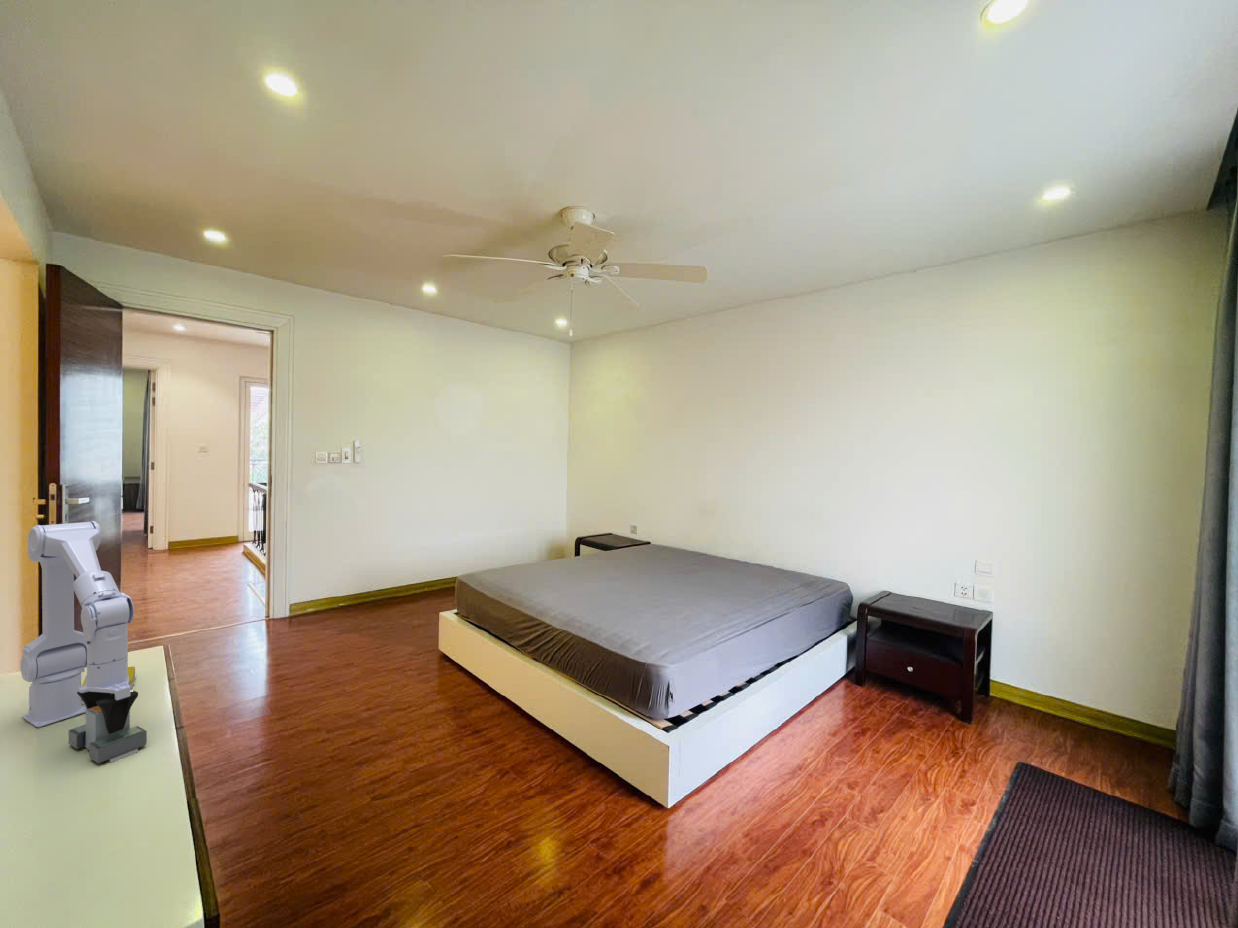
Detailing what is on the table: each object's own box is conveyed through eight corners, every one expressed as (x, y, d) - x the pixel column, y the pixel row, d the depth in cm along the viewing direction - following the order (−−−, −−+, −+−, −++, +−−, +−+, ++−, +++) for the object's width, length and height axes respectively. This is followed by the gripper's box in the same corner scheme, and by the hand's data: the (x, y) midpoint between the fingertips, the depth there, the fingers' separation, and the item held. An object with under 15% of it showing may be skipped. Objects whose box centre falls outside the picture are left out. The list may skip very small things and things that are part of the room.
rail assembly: (67, 746, 99) (67, 728, 99) (114, 729, 105) (114, 712, 105) (99, 767, 93) (99, 748, 92) (147, 748, 99) (147, 730, 99)
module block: (85, 747, 98) (85, 708, 98) (119, 734, 102) (119, 698, 102) (95, 753, 96) (95, 714, 96) (129, 740, 100) (129, 703, 100)
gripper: (64, 659, 98) (64, 726, 99) (95, 674, 92) (94, 746, 92) (112, 647, 105) (112, 710, 105) (144, 660, 98) (144, 728, 98)
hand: (107, 726), depth 99 cm, fingers open, 7 cm apart
